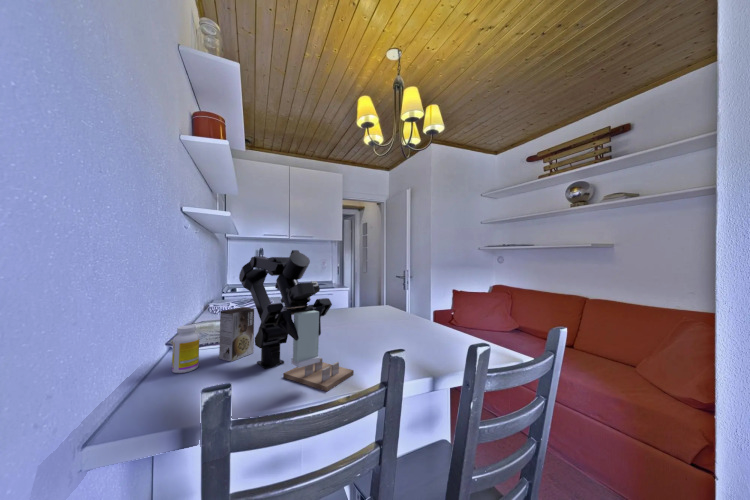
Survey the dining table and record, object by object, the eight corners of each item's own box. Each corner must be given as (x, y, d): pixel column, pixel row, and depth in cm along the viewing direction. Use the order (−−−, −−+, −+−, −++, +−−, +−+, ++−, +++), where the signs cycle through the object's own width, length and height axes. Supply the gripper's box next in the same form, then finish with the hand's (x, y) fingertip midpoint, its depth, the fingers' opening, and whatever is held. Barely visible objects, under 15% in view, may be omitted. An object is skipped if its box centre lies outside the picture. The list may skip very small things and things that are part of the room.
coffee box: (241, 350, 97) (242, 306, 98) (254, 353, 95) (255, 307, 96) (218, 359, 89) (219, 310, 90) (231, 362, 87) (233, 312, 87)
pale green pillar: (291, 363, 69) (292, 312, 69) (312, 357, 73) (313, 309, 73) (298, 367, 66) (299, 315, 66) (319, 361, 70) (320, 312, 70)
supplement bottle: (203, 366, 83) (205, 324, 83) (184, 375, 76) (185, 330, 77) (186, 364, 84) (187, 323, 85) (165, 372, 78) (167, 328, 78)
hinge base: (283, 377, 75) (283, 362, 76) (312, 363, 86) (313, 350, 86) (326, 391, 67) (327, 374, 68) (353, 374, 78) (353, 359, 78)
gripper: (266, 272, 67) (284, 324, 58) (329, 271, 79) (351, 313, 71) (254, 300, 72) (269, 351, 64) (315, 294, 85) (333, 337, 76)
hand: (308, 337), depth 69 cm, fingers closed on pale green pillar, 6 cm apart
